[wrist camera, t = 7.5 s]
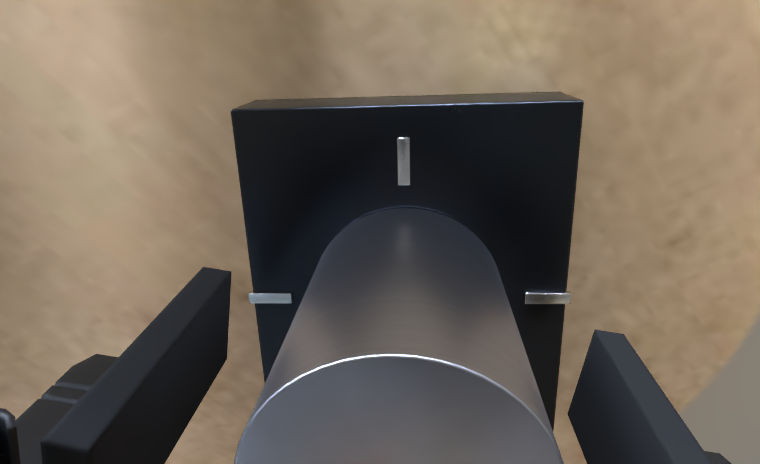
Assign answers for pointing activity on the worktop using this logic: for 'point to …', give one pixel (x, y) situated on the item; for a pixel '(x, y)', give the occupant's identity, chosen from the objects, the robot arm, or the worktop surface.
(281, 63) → the worktop surface
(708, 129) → the worktop surface
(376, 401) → the dial
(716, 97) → the worktop surface
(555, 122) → the control panel
